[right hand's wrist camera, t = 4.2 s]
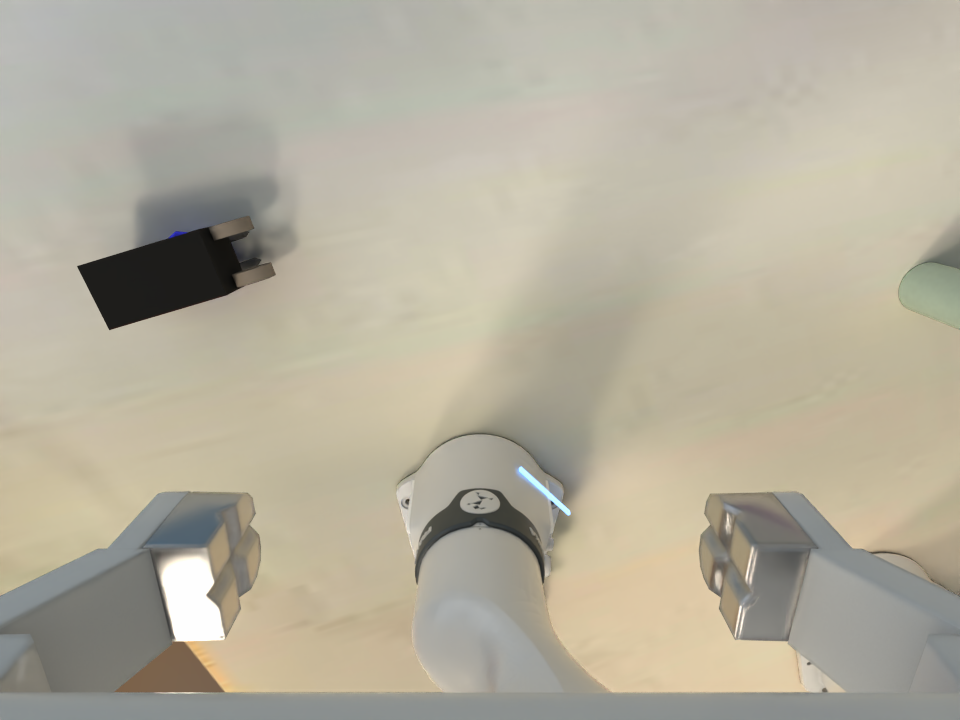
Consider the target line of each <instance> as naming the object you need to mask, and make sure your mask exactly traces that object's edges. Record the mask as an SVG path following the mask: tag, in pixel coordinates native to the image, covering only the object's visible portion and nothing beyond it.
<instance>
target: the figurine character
mask: <svg viewBox="0 0 960 720" xmlns="http://www.w3.org/2000/svg"><path fill="white" fill-rule="evenodd" d="M251 229H254V227H253V224H252V222H251V219H250V217H249V216H246V217H242V218H239V219H235V220H232V221H228V222H225V223H222V224H218V225H215V226H211V227H207V228H203V229H198V230H195V231H191V232H178V231H176V232H174V233H173V234H172V235H171V236H170V237H169V238H168V239H165V240H162V241H159V242H155V243H152V244H149V245H145V246H142V247H139V248H136V249H132V250H129V251H126V252H122V253H119V254H116V255H112V256H109V257H106V258H103V259H99V260H96V261H93V262H89V263H86V264H83V265H80V266H77V267H78V269H79V271H80V273H81V275H82V277H83V279H84V281H85V283H86V285H87V287H88V289H89V291H90V293H91V295H92V297H93V299H94V301H95V303H96V305H97V307H98V309H99V311H100V313H101V315H102V316H103V318H104V320H105V322H106V324H107V326H108V328H109V330H111V329H115V328H118V327H121V326H125V325H128V324H131V323H135V322H138V321H141V320H145V319H148V318H152V317H155V316H158V315H162V314H165V313H168V312H172V311H175V310H178V309H182V308H185V307H189V306H192V305H195V304H199V303H202V302H205V301H209V300H212V299H215V298H219V297H222V296H226V295H228V294H230V293H232V292H234V291H236V290H238V289H240V288H242V287H244V286H246V285H249V284H252V283H256V282H259V281H262V280H265V279H267V278H270V277H272V276H275V275H276V274H275V272H274V269H273V267H272V264H271V263H266V264H262V265H259V266H258V264H259V263H260V261H261V260H260V259H257V258H253V259H250V260H247V261H244V262H241V263H239V261H238V259H237V256H236V254H235V251H234V249H233V247H232V244H231V242H233V241H236V240H239V239H242V238H245V237H246V236H247V235H248V233H249V232H248V230H251ZM255 266H256V267H255Z"/></svg>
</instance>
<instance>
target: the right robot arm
mask: <svg viewBox="0 0 960 720" xmlns="http://www.w3.org/2000/svg"><path fill="white" fill-rule="evenodd" d="M396 496H397V500H398V503H399V506H400V510H401V513H402V517H403V520H404V524H405V527H406V531H407V534H408V537H409V541H410V544H411V548H412V551H413V554H414V558H415V564H416V566H415V577H416V583H417V593H416V600H415V607H414V615H413V622H412V629H411V636H412V643H413V648H414V651H415V654H416V656H417V659H418V661H419V662H420V664H421V666H422V667H423V669H424V671H425V672H426V673H427V675H428V676H429V678H430V679H431V680H432V681H433V683H434V684H435V685H436V686H437V687H438V688H439V689H441V690H442V691H443V692H444V693H417V692H280V693H120V692H119V693H118V692H114V691H116V690H117V689H118V688H119V687H121V686H122V685H123V684H124V683H125V682H127V681H128V680H129V679H130V678H132V677H133V676H134V675H135V674H136V673H138V672H139V671H140V670H141V669H142V668H144V667H145V666H146V665H147V664H149V663H150V662H151V661H152V660H153V659H154V658H156V657H157V656H158V655H159V654H161V653H162V652H163V651H164V650H166V649H167V648H168V647H169V646H170V645H172V641H199V640H225V639H226V637H227V635H228V633H229V631H230V629H231V627H232V625H233V623H234V621H235V619H236V617H237V615H238V613H239V612H240V610H241V606H240V600H239V597H240V596H242V595H243V594H245V593H246V592H247V591H249V590H250V589H251V588H252V586H253V584H254V582H255V580H256V577H257V574H258V570H259V565H260V561H261V544H260V537H259V534H258V533H257V532H256V531H255V530H254V529H253V528H252V527H251V526H250V525H249V524H250V522H251V521H252V519H253V517H254V516H255V514H256V513H255V508H254V503H253V498H252V497H251V496H250V495H249V494H248V493H232V492H189V491H184V492H162V493H159V494H157V495H156V496H155V497H154V498H153V500H152V501H151V502H150V503H149V504H148V505H147V506H146V507H145V508H144V509H143V510H142V512H141V513H140V514H139V515H138V516H137V517H136V518H135V519H134V520H133V521H132V522H131V524H130V525H129V526H128V527H127V528H126V529H125V530H124V531H123V532H122V533H121V534H120V535H119V537H118V538H117V539H116V540H115V541H114V542H113V543H112V544H111V545H110V546H109V547H108V549H97V550H94V551H92V552H90V553H88V554H86V555H84V556H82V557H80V558H78V559H76V560H74V561H72V562H70V563H68V564H66V565H63V566H61V567H59V568H57V569H55V570H53V571H51V572H49V573H47V574H45V575H43V576H41V577H39V578H37V579H35V580H32V581H30V582H28V583H26V584H24V585H22V586H20V587H18V588H16V589H14V590H12V591H10V592H8V593H6V594H3V595H1V596H0V720H960V596H958V595H956V594H954V593H952V592H950V591H948V590H946V589H944V588H942V587H940V586H938V585H936V584H934V583H932V582H929V581H927V580H925V579H923V578H921V577H919V576H917V575H915V574H913V573H911V572H909V571H907V570H905V569H903V568H901V567H899V566H896V565H894V564H892V563H890V562H888V561H886V560H884V559H882V558H880V557H878V556H876V555H874V554H872V553H870V552H868V551H866V550H863V549H852V547H851V546H850V545H849V544H848V543H847V542H846V541H845V540H844V539H843V538H842V537H841V535H840V534H839V533H838V532H837V531H836V530H835V529H834V528H833V527H832V526H831V525H830V523H829V522H828V521H827V520H826V519H825V518H824V517H823V516H822V515H821V514H820V513H819V511H818V510H817V509H816V508H815V507H814V506H813V505H812V504H811V503H810V502H809V501H808V500H807V498H806V497H805V496H804V495H803V494H801V493H799V492H796V491H786V492H767V493H720V494H710V495H709V497H708V499H707V501H706V507H705V513H704V514H705V516H706V517H707V519H708V521H709V522H710V524H711V525H710V526H709V527H708V528H707V529H706V530H705V531H704V532H703V533H702V534H701V538H700V546H699V557H700V567H701V570H702V574H703V577H704V580H705V582H706V584H707V586H708V588H709V589H710V590H711V591H713V592H714V593H715V594H717V595H718V596H720V597H721V600H720V606H719V610H720V612H721V613H722V615H723V617H724V619H725V621H726V623H727V625H728V627H729V629H730V631H731V633H732V635H733V637H734V638H735V640H760V641H788V644H789V645H790V646H791V647H792V648H793V649H795V650H796V651H797V652H798V653H800V654H801V655H802V656H803V657H804V658H806V659H807V660H808V661H809V662H810V663H812V664H813V665H814V666H815V667H817V668H818V669H819V670H820V671H821V672H823V673H824V674H825V675H826V676H827V677H829V678H830V679H831V680H832V681H834V682H835V683H836V684H837V685H838V686H840V687H841V688H842V689H843V690H844V691H846V692H792V693H613V692H611V691H610V690H609V689H607V688H606V687H605V686H603V685H602V684H601V683H599V682H598V681H597V680H596V679H595V678H593V677H592V676H591V675H590V674H589V673H588V672H587V671H586V670H585V669H584V668H583V667H582V666H581V665H580V664H579V663H578V662H577V661H576V660H575V659H574V658H573V657H572V656H571V655H570V653H569V652H568V651H567V650H566V648H565V647H564V646H563V644H562V643H561V641H560V640H559V638H558V637H557V635H556V633H555V631H554V629H553V627H552V624H551V620H550V617H549V613H548V609H547V605H546V601H545V596H544V590H543V583H544V577H549V575H550V571H551V557H550V556H549V555H547V551H552V550H553V546H554V540H553V538H551V537H552V534H553V531H554V527H555V524H556V520H557V517H558V513H559V510H560V509H562V510H563V511H564V512H565V513H566V514H567V515H568V516H569V515H570V510H568V509H567V508H566V507H565V506H564V505H563V504H562V500H563V496H564V488H563V485H562V484H561V483H560V482H559V481H558V480H556V479H555V478H553V477H552V476H550V475H548V474H546V473H545V472H543V471H542V470H541V468H540V467H539V466H538V464H537V463H536V462H535V460H534V459H533V458H532V456H531V455H530V454H529V453H528V452H527V451H526V450H524V449H523V448H522V447H520V446H519V445H517V444H516V443H514V442H512V441H510V440H507V439H505V438H502V437H498V436H494V435H486V434H474V435H466V436H462V437H458V438H455V439H453V440H450V441H448V442H446V443H444V444H443V445H441V446H440V447H438V448H437V449H436V450H434V451H433V452H432V453H431V454H430V455H429V456H428V458H427V459H426V460H425V462H424V463H423V464H422V466H421V467H420V468H419V470H418V471H417V472H415V473H414V474H412V475H410V476H408V477H407V478H405V479H404V480H402V481H401V482H400V483H399V484H398V485H397V489H396ZM406 499H410V500H409V501H407V500H406ZM550 499H551V500H552V501H551V500H550Z"/></svg>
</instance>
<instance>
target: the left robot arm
mask: <svg viewBox="0 0 960 720" xmlns="http://www.w3.org/2000/svg"><path fill="white" fill-rule="evenodd" d="M874 555H876V556H878V557H880V558H882V559H884V560H886V561H888V562H890V563H892V564H894V565H896V566H899V567H901V568H903V569H905V570H907V571H909V572H911V573H913V574H915V575H917V576H919V577H921V578H923V579H925V580H927V581H929V582H932V583H934V584H936V585H938V586H940V587H942V588H944V587H943V586H941V585H939V584H937V583H935V582H933V581H931V580H930V578H929V577H928V576H927V574H926V573H925V571H924V570H923V568H922V567H921V566H920V565H919V564H917V563H916V562H915V561H913V560H911V559H909V558H907V557H904V556H901V555H897V554H891V553H876V554H874ZM944 589H945V588H944ZM796 653H797V661H798V669H799V676H800V682H801V684H802V686H803V687H804V688H805V689H806V690H807V691H809V692H846V691H844V690H843V689H842V688H841V687H840V686H838V685H837V684H836V683H835V682H834V681H832V680H831V679H830V678H829V677H827V676H826V675H825V674H824V673H823V672H821V671H820V670H819V669H818V668H817V667H815V666H814V665H813V664H812V663H810V662H809V661H808V660H807V659H806V658H804V657H803V656H802V655H801V654H800V653H798V652H797V651H796Z"/></svg>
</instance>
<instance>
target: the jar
mask: <svg viewBox="0 0 960 720" xmlns="http://www.w3.org/2000/svg"><path fill="white" fill-rule="evenodd" d="M899 299H900V301H901V303H902V304H903V306H904V307H906V308H907V309H909V310H911V311H914V312H917V313H919V314H922V315H924V316H927V317H929V318H932V319H934V320H937V321H939V322H942V323H944V324H947V325H949V326H952V327H954V328H957V329H959V330H960V269H957V268H953V267H950V266H946V265H942V264H939V263H933V262H929V263H924V264H921V265H918V266H916V267H915V268H913V269H912V270H910V271H909V272H908V273H907V274H906V275H905V277H904V278H903V280H902V282H901V284H900V287H899Z"/></svg>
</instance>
